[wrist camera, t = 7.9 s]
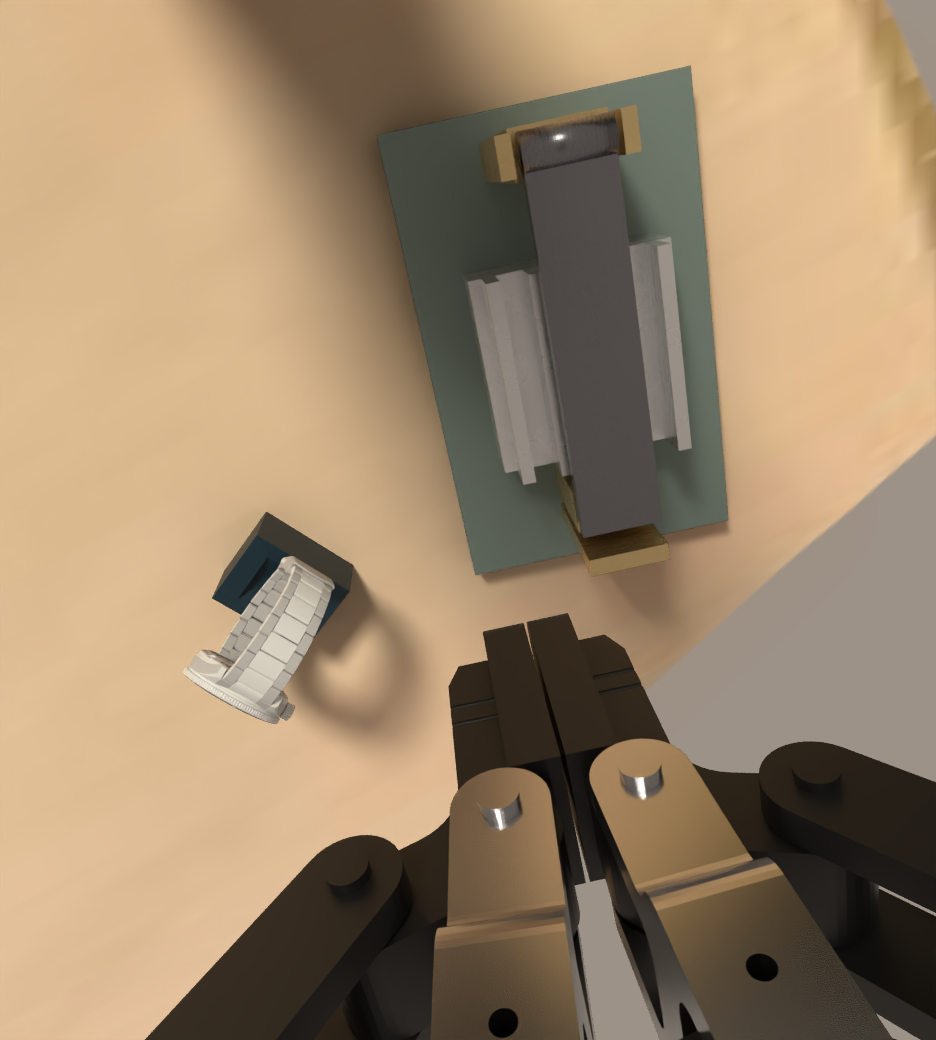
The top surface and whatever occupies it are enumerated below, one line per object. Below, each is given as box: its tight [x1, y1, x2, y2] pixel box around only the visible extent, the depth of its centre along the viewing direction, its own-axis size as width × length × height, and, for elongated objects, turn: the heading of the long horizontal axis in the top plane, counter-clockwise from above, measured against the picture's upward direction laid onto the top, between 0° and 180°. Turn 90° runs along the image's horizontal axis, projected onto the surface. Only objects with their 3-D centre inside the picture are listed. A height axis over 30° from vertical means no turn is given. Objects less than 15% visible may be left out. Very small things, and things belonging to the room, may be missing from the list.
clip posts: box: [478, 105, 670, 576], centre depth 36 cm, size 19×5×7 cm, turn 12°
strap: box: [515, 111, 663, 538], centre depth 33 cm, size 17×4×2 cm, turn 12°
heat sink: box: [463, 233, 692, 485], centre depth 37 cm, size 9×9×5 cm
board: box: [377, 66, 728, 575], centre depth 40 cm, size 22×14×2 cm, turn 12°
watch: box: [183, 512, 353, 724], centre depth 40 cm, size 6×8×11 cm
